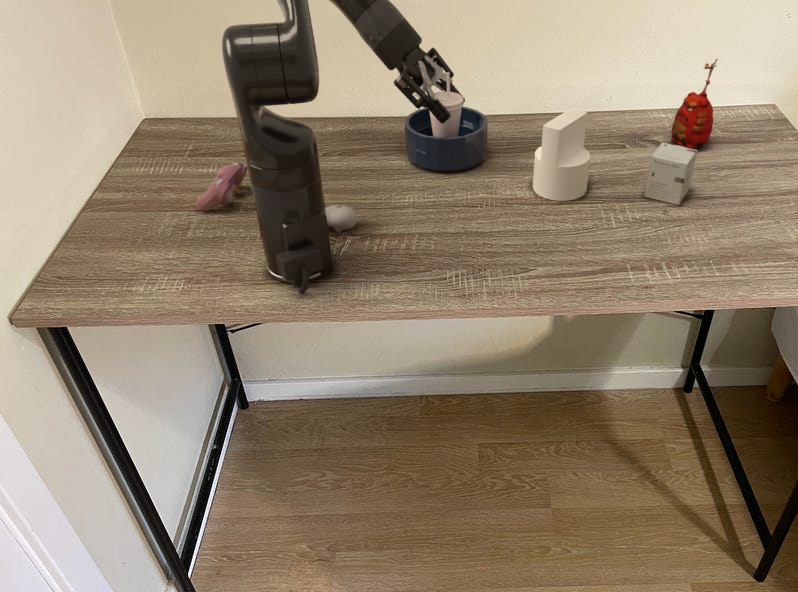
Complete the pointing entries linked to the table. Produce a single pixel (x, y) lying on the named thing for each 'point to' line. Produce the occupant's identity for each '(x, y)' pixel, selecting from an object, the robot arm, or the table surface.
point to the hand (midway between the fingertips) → (454, 112)
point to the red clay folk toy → (694, 119)
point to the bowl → (446, 142)
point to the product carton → (670, 173)
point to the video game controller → (222, 187)
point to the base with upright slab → (562, 158)
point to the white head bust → (341, 217)
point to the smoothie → (453, 105)
